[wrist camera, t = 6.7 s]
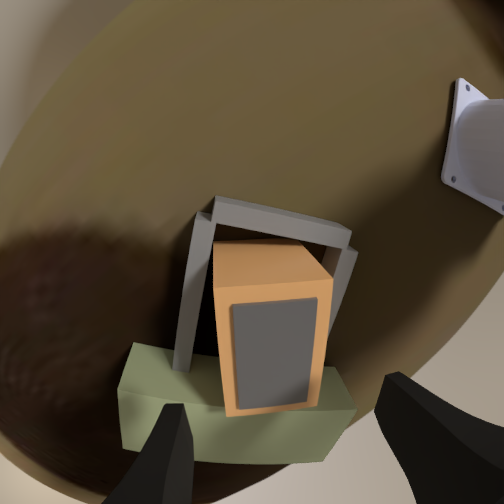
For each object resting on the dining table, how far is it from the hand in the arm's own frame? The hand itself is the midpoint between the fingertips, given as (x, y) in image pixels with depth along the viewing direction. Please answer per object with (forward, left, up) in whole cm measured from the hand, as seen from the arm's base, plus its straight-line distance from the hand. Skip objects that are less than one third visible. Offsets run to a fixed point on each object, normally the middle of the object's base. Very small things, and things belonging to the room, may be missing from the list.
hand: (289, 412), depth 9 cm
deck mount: (0, +3, -9) cm, 9 cm away
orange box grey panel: (0, 0, -9) cm, 9 cm away
